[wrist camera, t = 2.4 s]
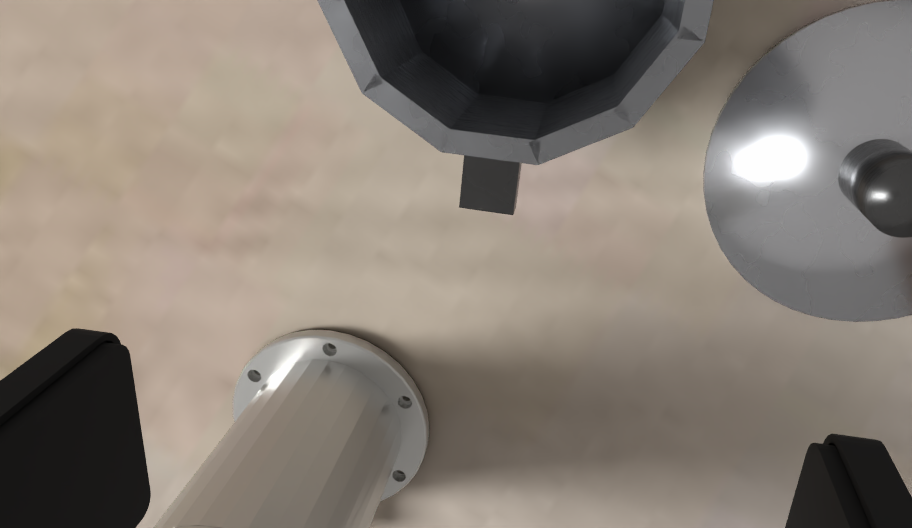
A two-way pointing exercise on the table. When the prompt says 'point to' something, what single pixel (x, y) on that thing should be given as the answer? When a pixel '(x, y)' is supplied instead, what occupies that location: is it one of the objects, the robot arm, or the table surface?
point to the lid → (822, 167)
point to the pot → (515, 74)
